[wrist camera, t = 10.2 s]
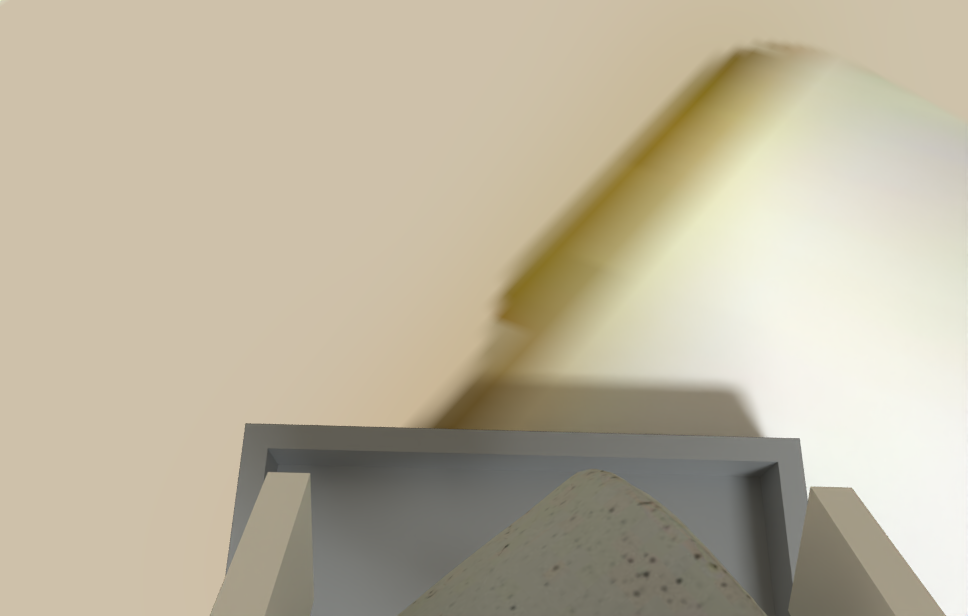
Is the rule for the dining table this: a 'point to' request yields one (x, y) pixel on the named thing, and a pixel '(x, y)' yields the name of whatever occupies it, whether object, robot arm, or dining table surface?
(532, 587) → the ceramic mug
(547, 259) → the dining table surface
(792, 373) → the dining table surface
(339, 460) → the tray
